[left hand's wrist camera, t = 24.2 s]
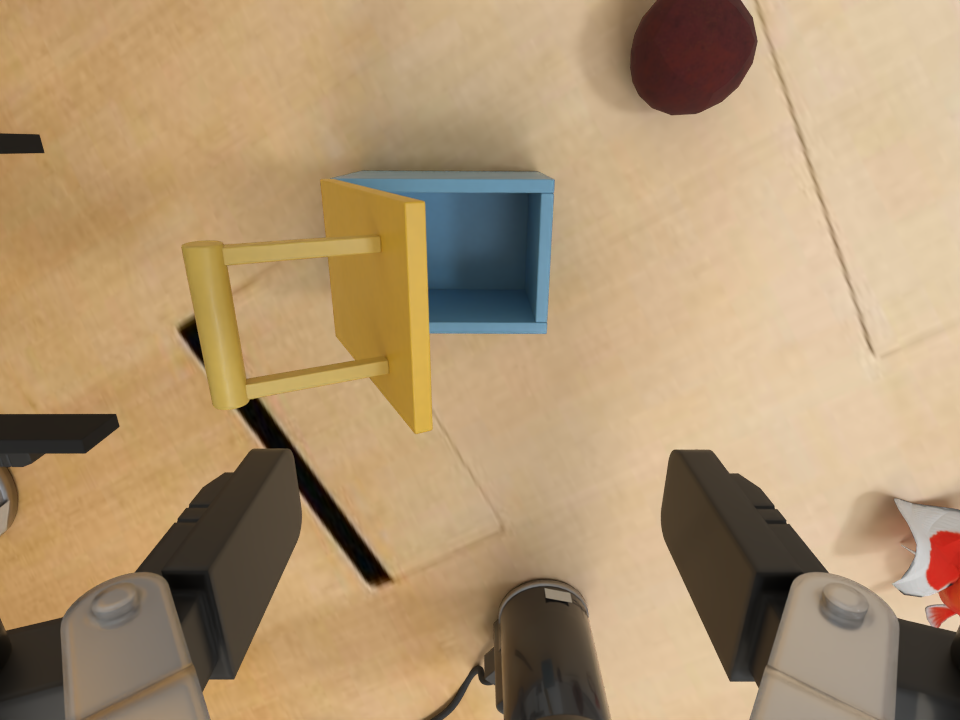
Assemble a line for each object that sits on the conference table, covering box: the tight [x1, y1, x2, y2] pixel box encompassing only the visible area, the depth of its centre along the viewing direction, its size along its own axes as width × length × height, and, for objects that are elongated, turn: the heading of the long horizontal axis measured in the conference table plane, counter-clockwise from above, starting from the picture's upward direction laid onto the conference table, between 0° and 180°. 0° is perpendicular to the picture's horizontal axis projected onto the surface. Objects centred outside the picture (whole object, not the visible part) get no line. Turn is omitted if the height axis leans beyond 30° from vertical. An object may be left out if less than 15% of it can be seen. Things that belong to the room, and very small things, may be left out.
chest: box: [330, 171, 555, 334], centre depth 39 cm, size 14×10×10 cm
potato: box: [630, 0, 757, 115], centre depth 35 cm, size 7×8×7 cm
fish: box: [892, 498, 960, 628], centre depth 51 cm, size 11×16×10 cm
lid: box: [181, 179, 432, 434], centre depth 26 cm, size 14×10×8 cm
